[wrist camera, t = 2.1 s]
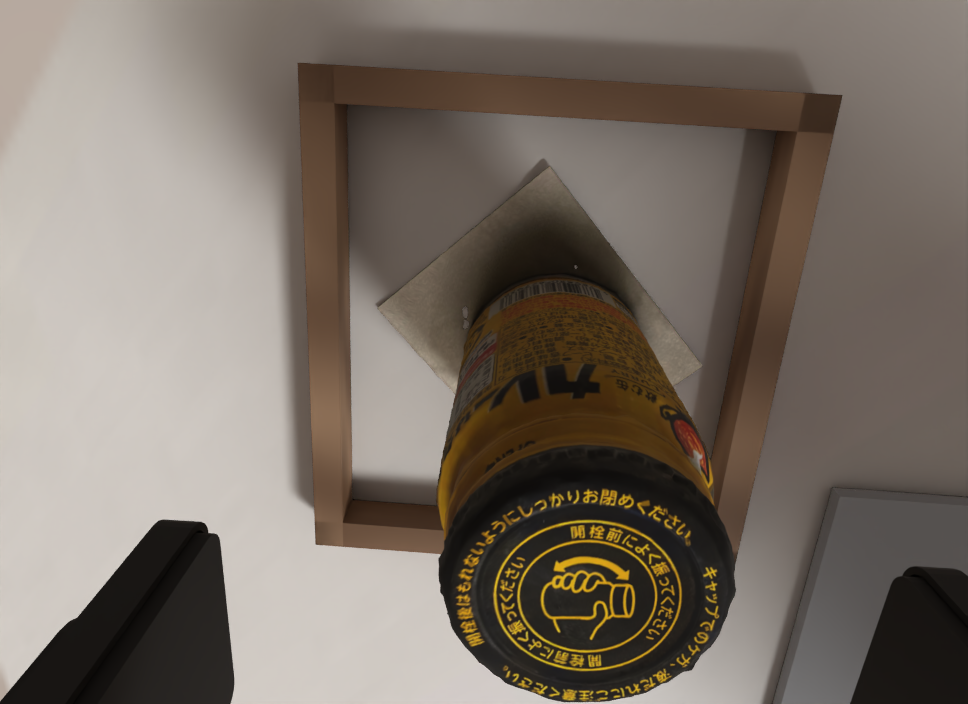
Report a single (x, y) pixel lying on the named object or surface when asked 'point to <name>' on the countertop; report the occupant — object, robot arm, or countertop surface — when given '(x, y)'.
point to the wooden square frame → (332, 87)
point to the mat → (862, 582)
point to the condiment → (566, 459)
